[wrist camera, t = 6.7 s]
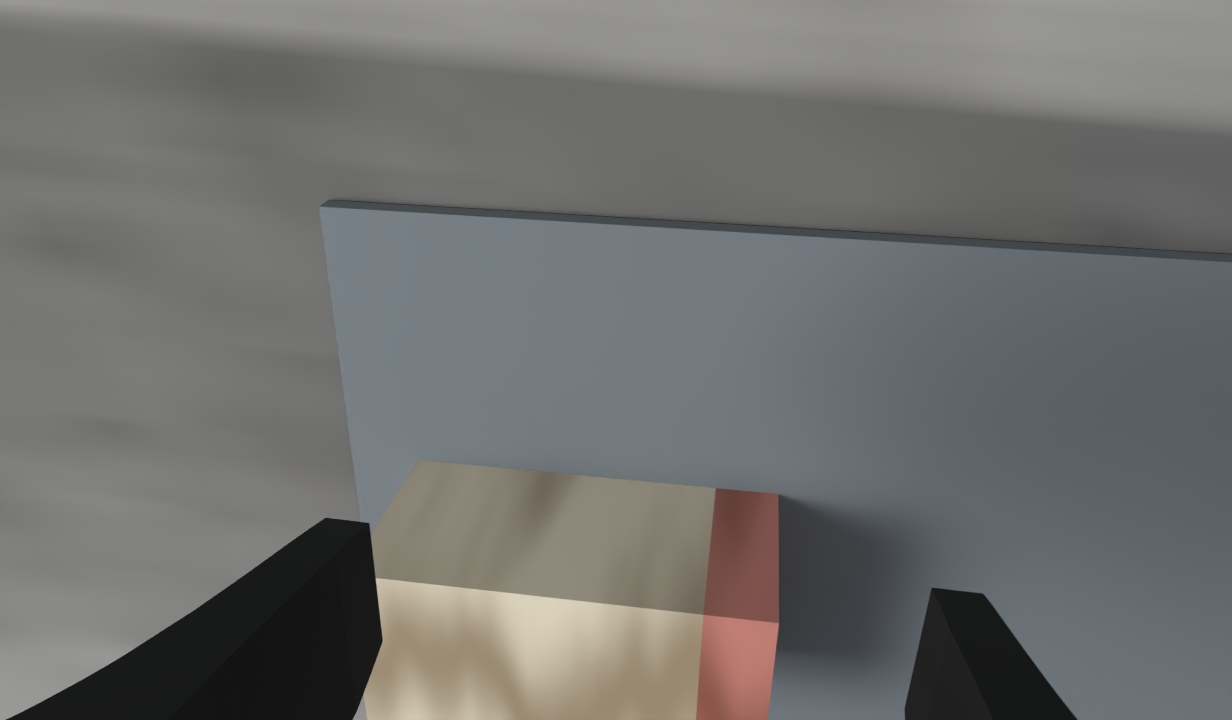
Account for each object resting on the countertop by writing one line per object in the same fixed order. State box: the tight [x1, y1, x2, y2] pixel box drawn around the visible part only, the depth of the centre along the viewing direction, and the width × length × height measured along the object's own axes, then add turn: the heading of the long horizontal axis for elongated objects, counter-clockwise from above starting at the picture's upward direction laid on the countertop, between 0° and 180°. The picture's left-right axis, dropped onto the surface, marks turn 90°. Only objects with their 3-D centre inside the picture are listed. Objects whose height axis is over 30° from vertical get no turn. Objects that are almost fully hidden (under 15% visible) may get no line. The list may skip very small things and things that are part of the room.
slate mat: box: [319, 200, 1232, 720], centre depth 24 cm, size 16×24×1 cm, turn 89°
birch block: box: [364, 460, 779, 720], centre depth 22 cm, size 5×4×9 cm
